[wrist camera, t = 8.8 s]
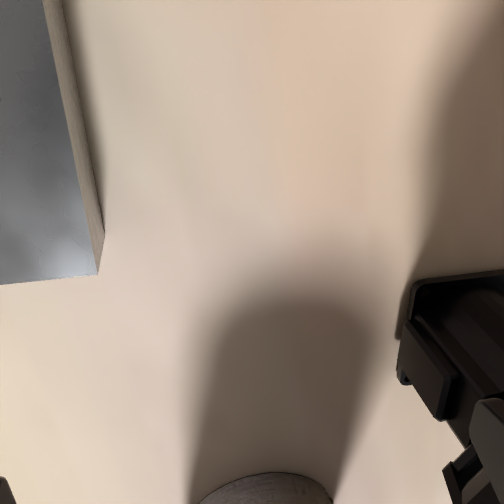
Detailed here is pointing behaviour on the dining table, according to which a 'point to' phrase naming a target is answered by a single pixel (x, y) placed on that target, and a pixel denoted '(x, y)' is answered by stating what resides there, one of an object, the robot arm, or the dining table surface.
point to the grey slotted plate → (43, 152)
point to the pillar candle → (270, 491)
